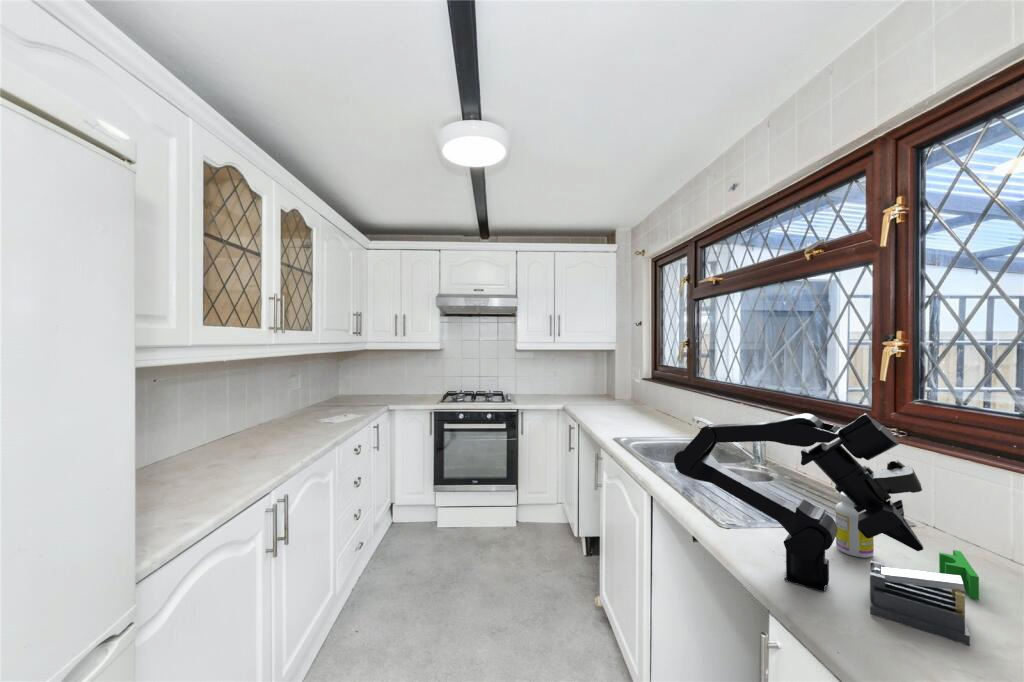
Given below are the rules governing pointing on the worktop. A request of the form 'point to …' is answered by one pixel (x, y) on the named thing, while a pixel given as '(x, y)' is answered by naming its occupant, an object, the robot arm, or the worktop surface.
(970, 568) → the pipe clamp
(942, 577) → the silver metal bar
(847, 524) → the supplement bottle
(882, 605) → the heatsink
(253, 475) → the worktop surface
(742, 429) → the robot arm
